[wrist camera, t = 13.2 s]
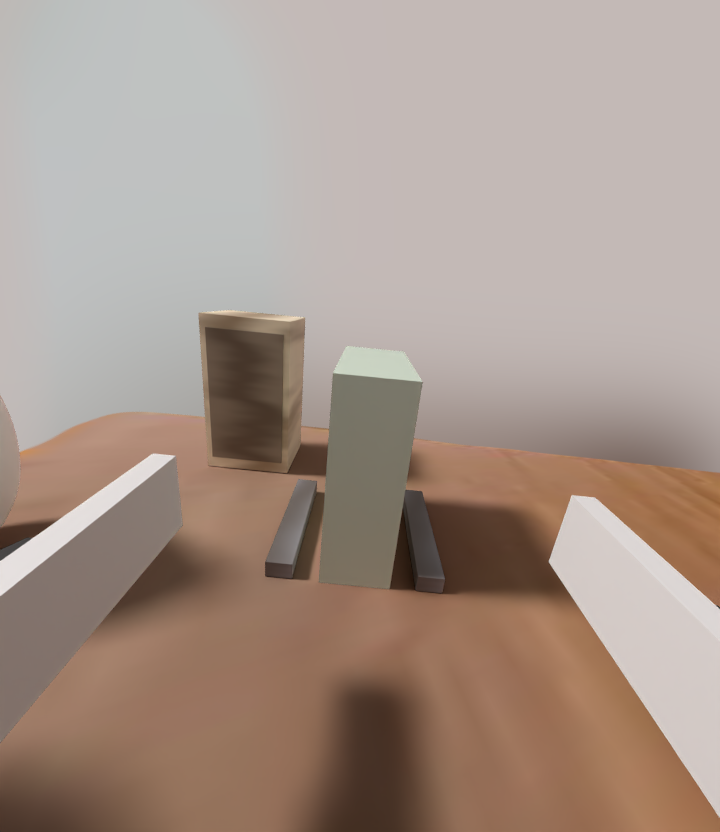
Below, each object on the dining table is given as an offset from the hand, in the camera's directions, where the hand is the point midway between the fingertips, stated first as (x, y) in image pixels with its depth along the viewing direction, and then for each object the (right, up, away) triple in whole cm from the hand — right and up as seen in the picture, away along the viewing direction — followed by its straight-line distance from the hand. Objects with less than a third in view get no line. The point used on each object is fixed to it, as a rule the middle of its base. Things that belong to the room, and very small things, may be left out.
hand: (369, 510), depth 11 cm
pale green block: (-1, -5, +12) cm, 13 cm away
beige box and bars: (-5, -3, +16) cm, 17 cm away
